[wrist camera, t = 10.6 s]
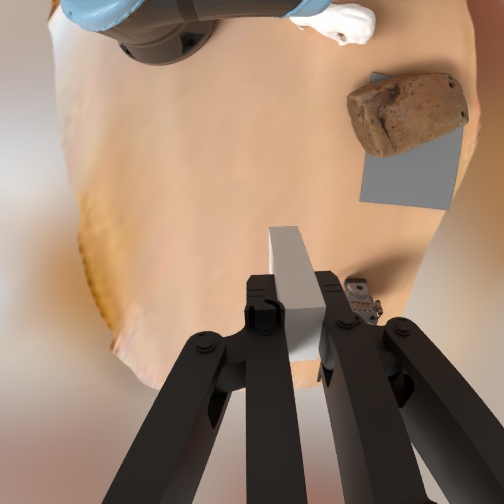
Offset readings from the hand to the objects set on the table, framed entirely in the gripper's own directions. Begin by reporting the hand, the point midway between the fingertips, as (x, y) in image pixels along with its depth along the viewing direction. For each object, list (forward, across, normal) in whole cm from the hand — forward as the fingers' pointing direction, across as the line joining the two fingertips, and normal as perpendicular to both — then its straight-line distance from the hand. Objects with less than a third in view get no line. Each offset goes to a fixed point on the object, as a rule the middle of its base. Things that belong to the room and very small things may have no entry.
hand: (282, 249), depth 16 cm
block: (+27, +14, +4) cm, 31 cm away
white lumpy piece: (+32, +10, +21) cm, 40 cm away
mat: (+31, +27, +2) cm, 42 cm away
